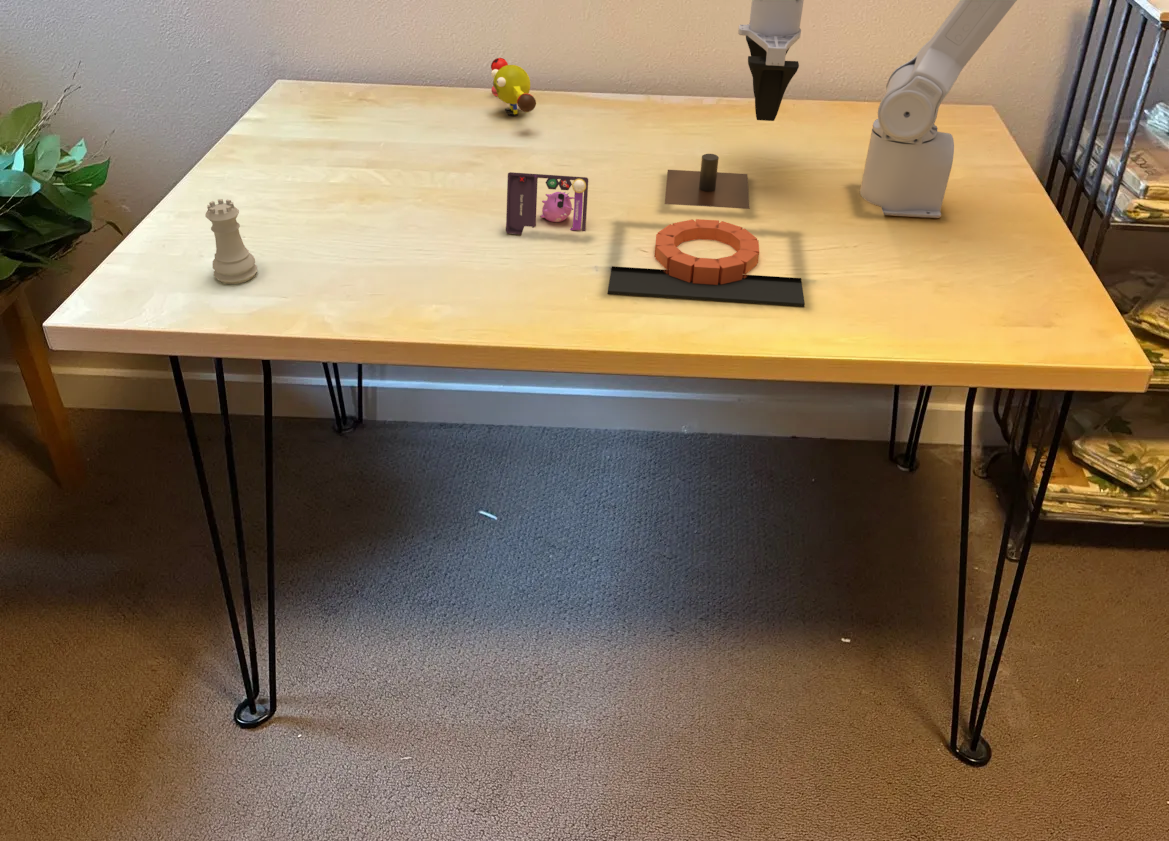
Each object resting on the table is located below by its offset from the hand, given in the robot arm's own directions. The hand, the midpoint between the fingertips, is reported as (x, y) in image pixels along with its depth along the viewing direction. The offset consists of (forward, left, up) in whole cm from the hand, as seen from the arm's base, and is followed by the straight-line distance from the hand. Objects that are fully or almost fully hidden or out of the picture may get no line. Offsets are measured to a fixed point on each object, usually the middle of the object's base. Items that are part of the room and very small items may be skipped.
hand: (763, 107), depth 117 cm
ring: (+6, +22, -9) cm, 24 cm away
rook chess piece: (+55, +31, -10) cm, 64 cm away
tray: (+6, +22, -9) cm, 25 cm away
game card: (+24, +16, -10) cm, 30 cm away
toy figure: (+34, -19, -10) cm, 40 cm away
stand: (+6, +5, -9) cm, 12 cm away
